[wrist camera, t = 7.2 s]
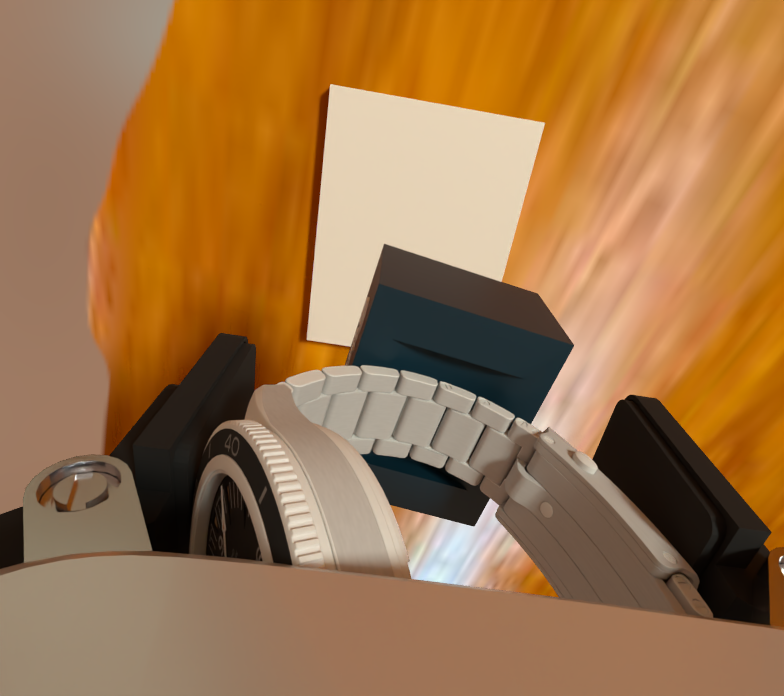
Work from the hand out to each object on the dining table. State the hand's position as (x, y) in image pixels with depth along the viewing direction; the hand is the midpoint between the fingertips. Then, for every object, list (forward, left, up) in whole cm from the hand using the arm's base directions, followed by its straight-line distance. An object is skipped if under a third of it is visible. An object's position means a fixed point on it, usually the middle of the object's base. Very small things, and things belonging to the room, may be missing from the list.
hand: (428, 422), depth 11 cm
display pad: (0, 0, -17) cm, 17 cm away
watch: (0, 0, -3) cm, 3 cm away
